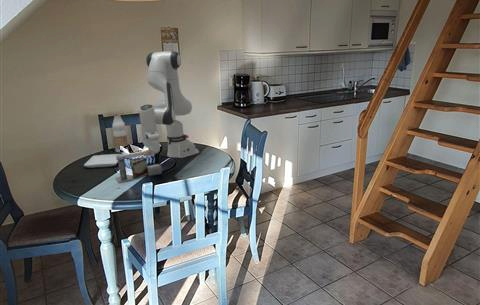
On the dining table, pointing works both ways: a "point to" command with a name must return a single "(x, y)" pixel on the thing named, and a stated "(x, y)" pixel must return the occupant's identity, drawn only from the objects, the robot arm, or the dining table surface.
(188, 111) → the robot arm
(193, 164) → the dining table surface
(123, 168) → the rack post
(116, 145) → the fruit juice
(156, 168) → the block
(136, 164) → the food container
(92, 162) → the salad plate
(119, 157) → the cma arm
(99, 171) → the dining table surface
